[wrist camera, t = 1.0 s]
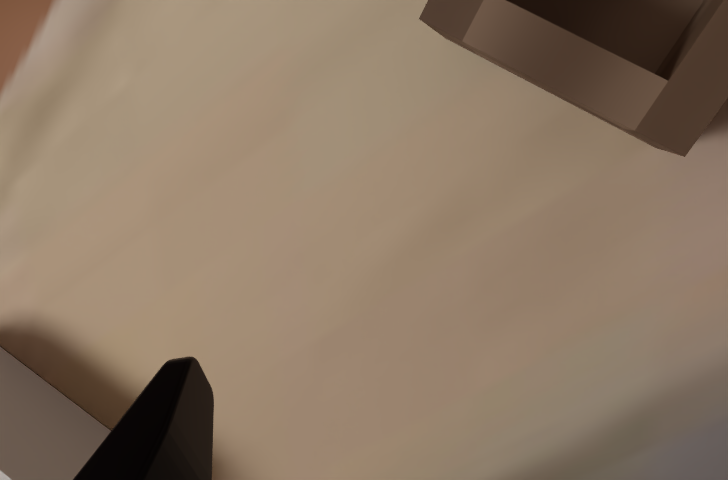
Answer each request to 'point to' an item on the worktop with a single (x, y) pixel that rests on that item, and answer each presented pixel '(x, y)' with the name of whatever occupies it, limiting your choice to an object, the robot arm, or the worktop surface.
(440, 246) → the worktop surface
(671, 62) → the socket block
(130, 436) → the robot arm
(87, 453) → the part corral
